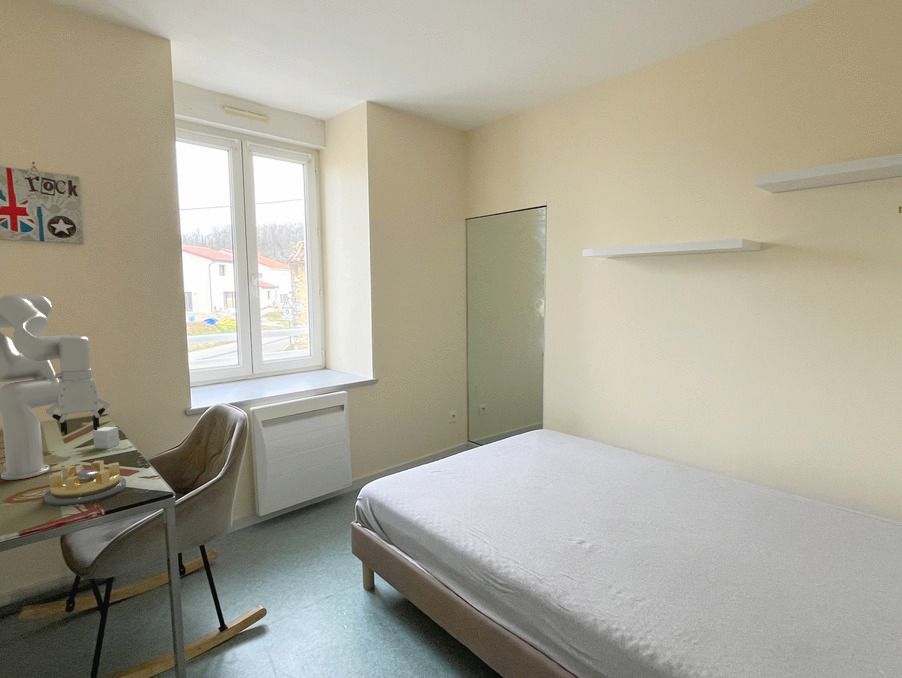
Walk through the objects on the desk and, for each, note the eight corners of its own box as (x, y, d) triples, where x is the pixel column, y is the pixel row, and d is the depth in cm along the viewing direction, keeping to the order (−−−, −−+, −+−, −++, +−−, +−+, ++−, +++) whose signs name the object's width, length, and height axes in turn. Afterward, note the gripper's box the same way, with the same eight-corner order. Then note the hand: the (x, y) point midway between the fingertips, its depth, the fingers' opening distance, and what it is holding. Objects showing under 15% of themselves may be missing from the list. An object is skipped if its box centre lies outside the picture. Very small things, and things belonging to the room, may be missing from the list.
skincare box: (119, 444, 200) (118, 426, 200) (107, 448, 194) (106, 430, 194) (106, 444, 201) (104, 426, 200) (93, 448, 195) (92, 430, 194)
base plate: (28, 501, 144) (27, 495, 144) (96, 477, 163) (96, 472, 163) (75, 510, 138) (75, 504, 137) (141, 484, 156) (140, 479, 156)
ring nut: (36, 494, 145) (35, 476, 144) (94, 474, 161) (93, 458, 160) (77, 501, 139) (75, 482, 139) (132, 480, 155) (131, 463, 155)
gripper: (40, 380, 144) (45, 439, 146) (111, 374, 155) (115, 429, 157) (40, 377, 150) (44, 434, 151) (108, 371, 161) (112, 424, 163)
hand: (80, 431), depth 154 cm, fingers open, 6 cm apart
